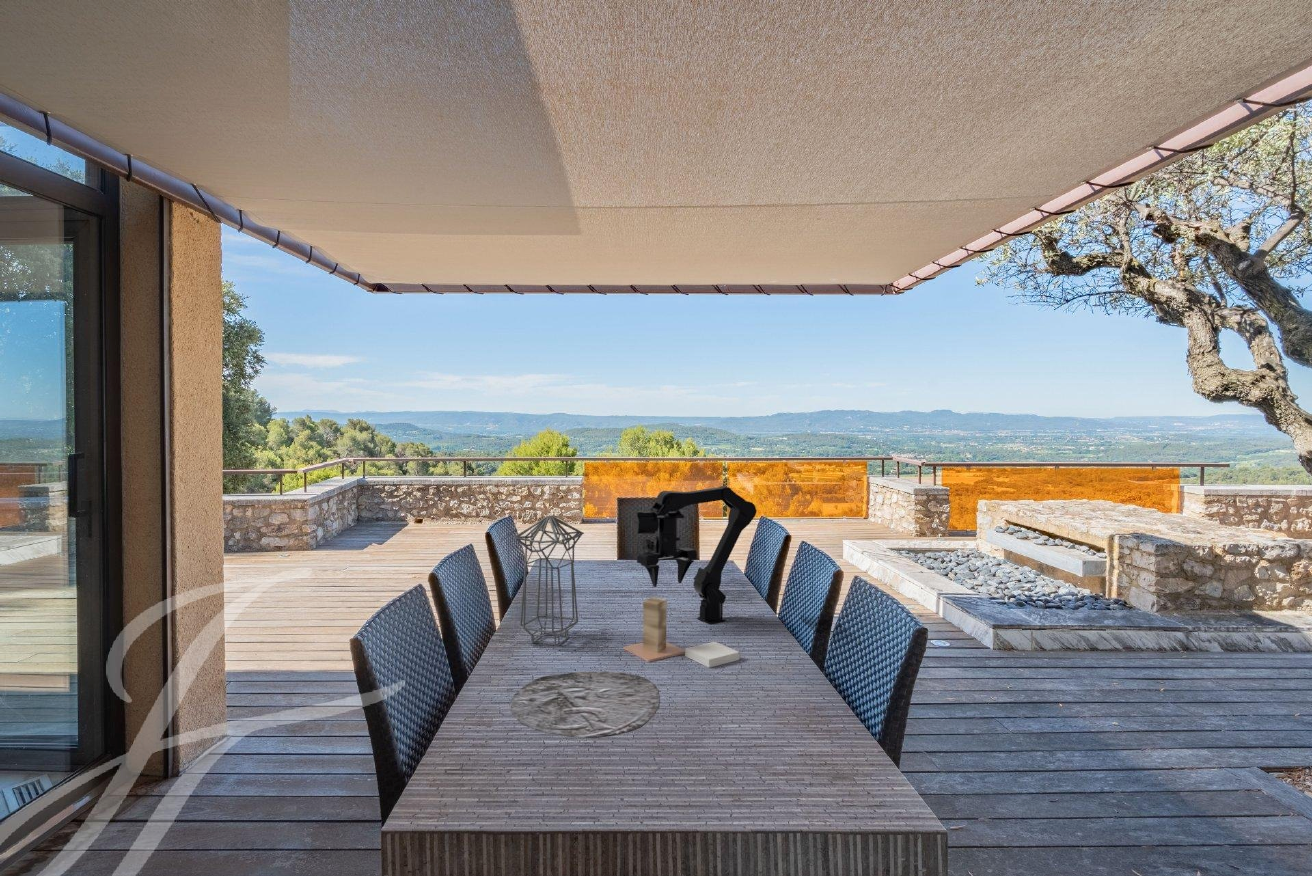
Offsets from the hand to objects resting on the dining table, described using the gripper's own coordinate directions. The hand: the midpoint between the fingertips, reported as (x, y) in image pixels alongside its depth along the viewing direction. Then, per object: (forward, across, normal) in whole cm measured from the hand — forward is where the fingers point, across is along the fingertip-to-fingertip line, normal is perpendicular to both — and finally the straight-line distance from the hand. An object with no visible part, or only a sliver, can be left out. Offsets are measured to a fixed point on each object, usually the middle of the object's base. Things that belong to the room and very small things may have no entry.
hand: (667, 584), depth 205 cm
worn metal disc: (+13, +47, +36) cm, 60 cm away
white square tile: (+12, +7, +30) cm, 33 cm away
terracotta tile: (+12, +16, +17) cm, 27 cm away
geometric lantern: (+12, +36, -6) cm, 38 cm away
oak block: (+11, +16, +17) cm, 27 cm away
